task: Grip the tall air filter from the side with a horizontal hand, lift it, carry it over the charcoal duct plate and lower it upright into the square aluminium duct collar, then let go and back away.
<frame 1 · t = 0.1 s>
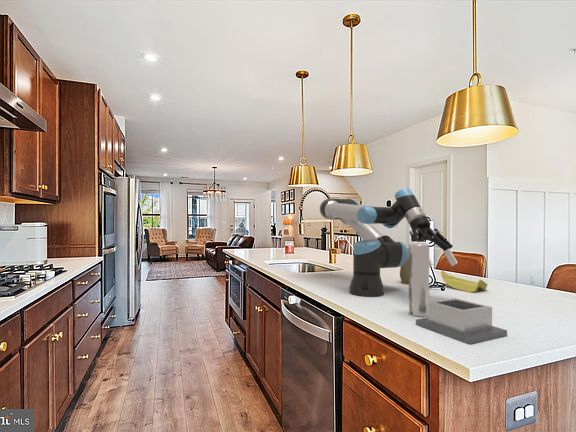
hand: (442, 265, 127), 15 cm above the counter, tool tilted 35°, fingers open, 13 cm apart
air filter: (418, 314, 114), on the counter
banana: (462, 289, 160), on the counter
squeeze bottle: (407, 283, 171), on the counter
duct plate: (459, 329, 98), on the counter
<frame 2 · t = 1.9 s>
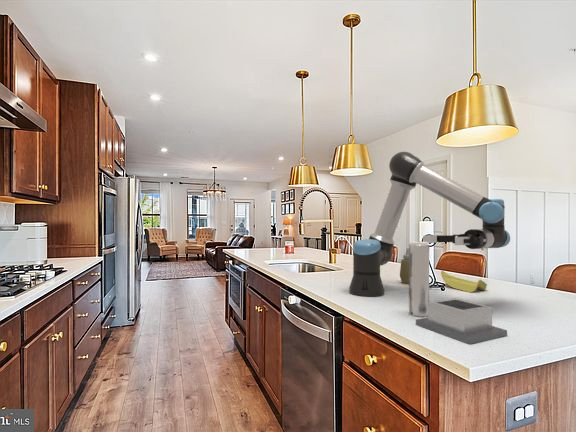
hand: (438, 240, 119), 25 cm above the counter, tool horizontal, fingers open, 13 cm apart
nothing on the counter moved.
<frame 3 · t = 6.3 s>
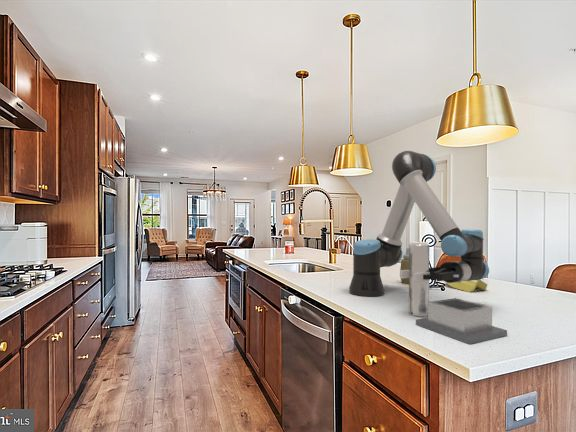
hand: (407, 275, 112), 14 cm above the counter, tool horizontal, fingers closed on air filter, 5 cm apart
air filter: (418, 314, 114), on the counter, touching gripper
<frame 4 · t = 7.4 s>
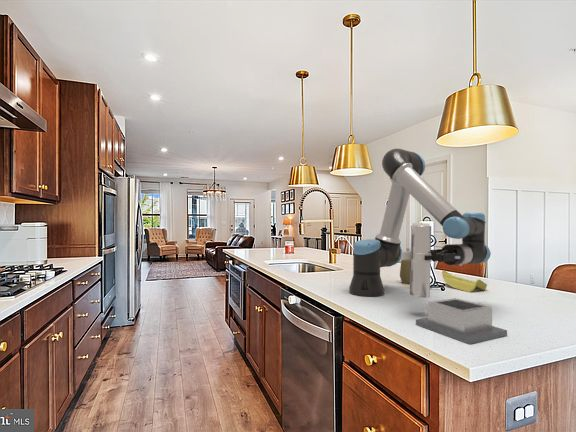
hand: (409, 256, 112), 20 cm above the counter, tool horizontal, fingers closed on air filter, 5 cm apart
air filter: (419, 295, 114), point 6 cm above the counter, touching gripper
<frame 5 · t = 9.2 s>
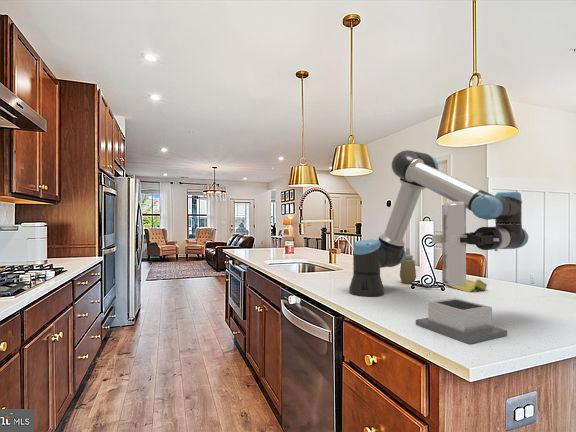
hand: (442, 239, 99), 27 cm above the counter, tool horizontal, fingers closed on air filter, 5 cm apart
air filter: (454, 284, 101), point 13 cm above the counter, touching gripper
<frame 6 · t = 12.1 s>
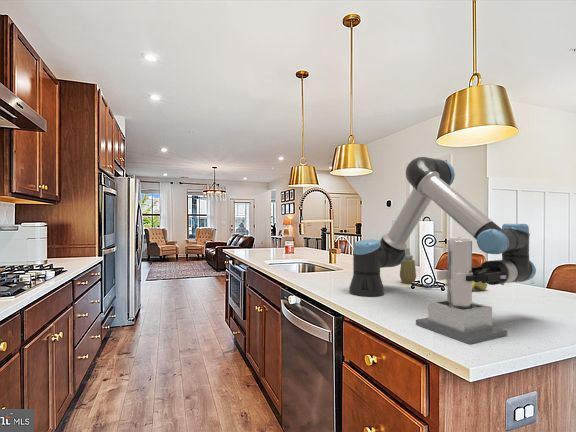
hand: (447, 277, 96), 16 cm above the counter, tool horizontal, fingers closed on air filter, 5 cm apart
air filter: (459, 322, 98), point 2 cm above the counter, touching gripper
when the fingers open (16 cm above the counter, at t = 12.2 s): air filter stays where it is, resting on duct plate.
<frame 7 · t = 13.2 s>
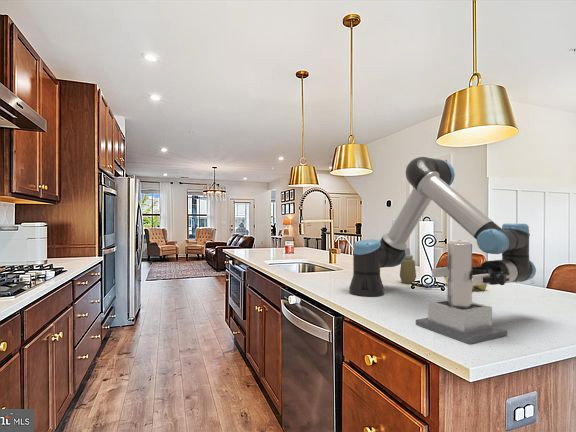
hand: (451, 276, 97), 16 cm above the counter, tool horizontal, fingers open, 13 cm apart
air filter: (459, 325, 98), point 1 cm above the counter, touching duct plate
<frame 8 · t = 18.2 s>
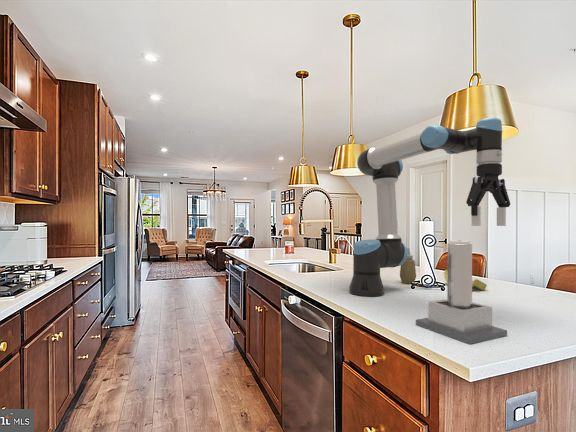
hand: (488, 225, 114), 31 cm above the counter, tool pointing down, fingers open, 13 cm apart
at the end: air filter 0.1 cm off-centre on the duct plate, point 1.3 cm above the duct plate's base; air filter tilted 0°; the gripper is holding nothing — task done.
